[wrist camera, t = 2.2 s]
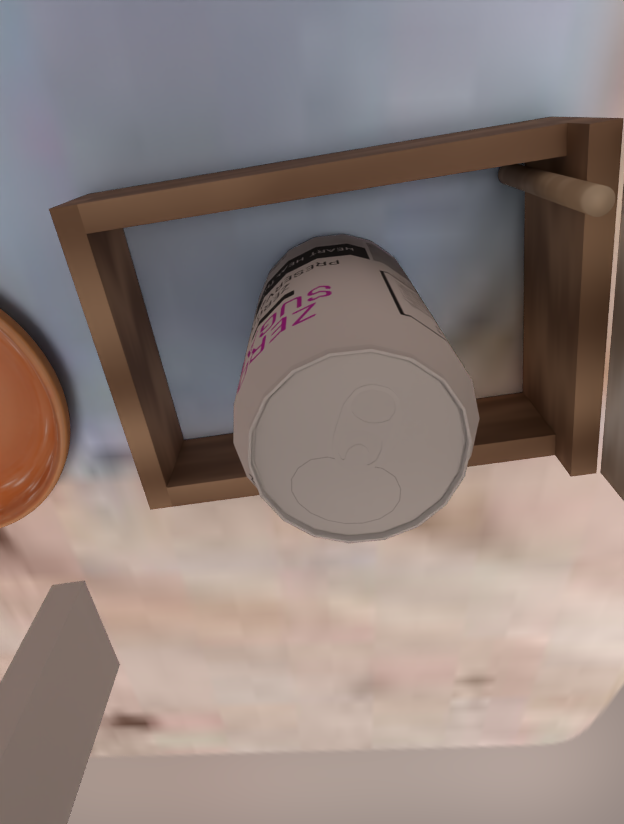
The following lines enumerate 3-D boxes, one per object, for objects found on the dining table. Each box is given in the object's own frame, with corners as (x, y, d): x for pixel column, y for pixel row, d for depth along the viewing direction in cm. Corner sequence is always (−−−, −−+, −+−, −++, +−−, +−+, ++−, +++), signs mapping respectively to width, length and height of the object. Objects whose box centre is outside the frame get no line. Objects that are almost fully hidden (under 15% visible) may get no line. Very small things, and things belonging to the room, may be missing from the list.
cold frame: (87, 193, 29) (-430, 393, 9) (572, 112, 28) (1341, 119, 7) (169, 460, 36) (-9, 924, 15) (560, 405, 35) (935, 833, 14)
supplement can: (387, 393, 34) (441, 575, 21) (245, 362, 33) (206, 531, 20) (433, 254, 31) (534, 365, 17) (276, 214, 30) (255, 299, 16)
